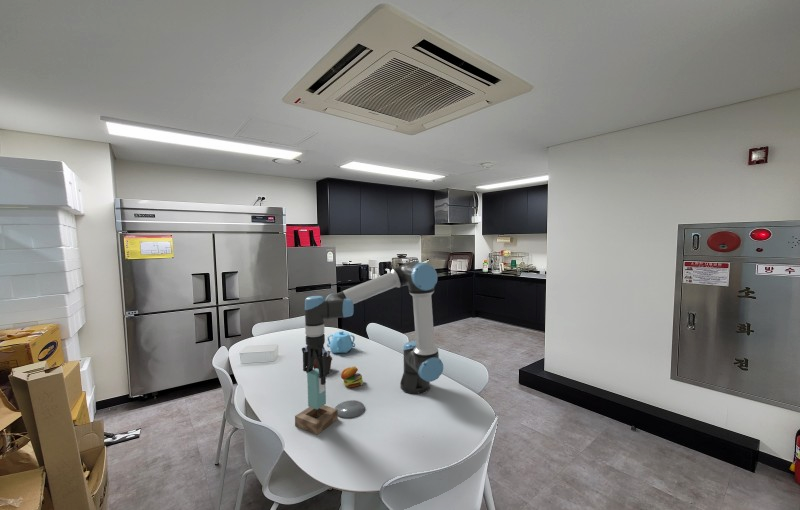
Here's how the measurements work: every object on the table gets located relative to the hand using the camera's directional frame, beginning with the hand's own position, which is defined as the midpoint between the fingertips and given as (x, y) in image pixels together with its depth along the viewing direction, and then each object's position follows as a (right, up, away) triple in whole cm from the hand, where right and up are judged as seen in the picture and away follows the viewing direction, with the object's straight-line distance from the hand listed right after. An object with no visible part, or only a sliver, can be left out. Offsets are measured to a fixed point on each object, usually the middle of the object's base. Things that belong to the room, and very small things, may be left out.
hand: (316, 390), depth 126 cm
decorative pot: (-6, -10, +84) cm, 85 cm away
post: (0, -6, 0) cm, 6 cm away
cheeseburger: (+9, -12, +34) cm, 38 cm away
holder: (0, -13, 0) cm, 14 cm away
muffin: (-11, -12, +51) cm, 53 cm away
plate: (+12, -13, +10) cm, 20 cm away
